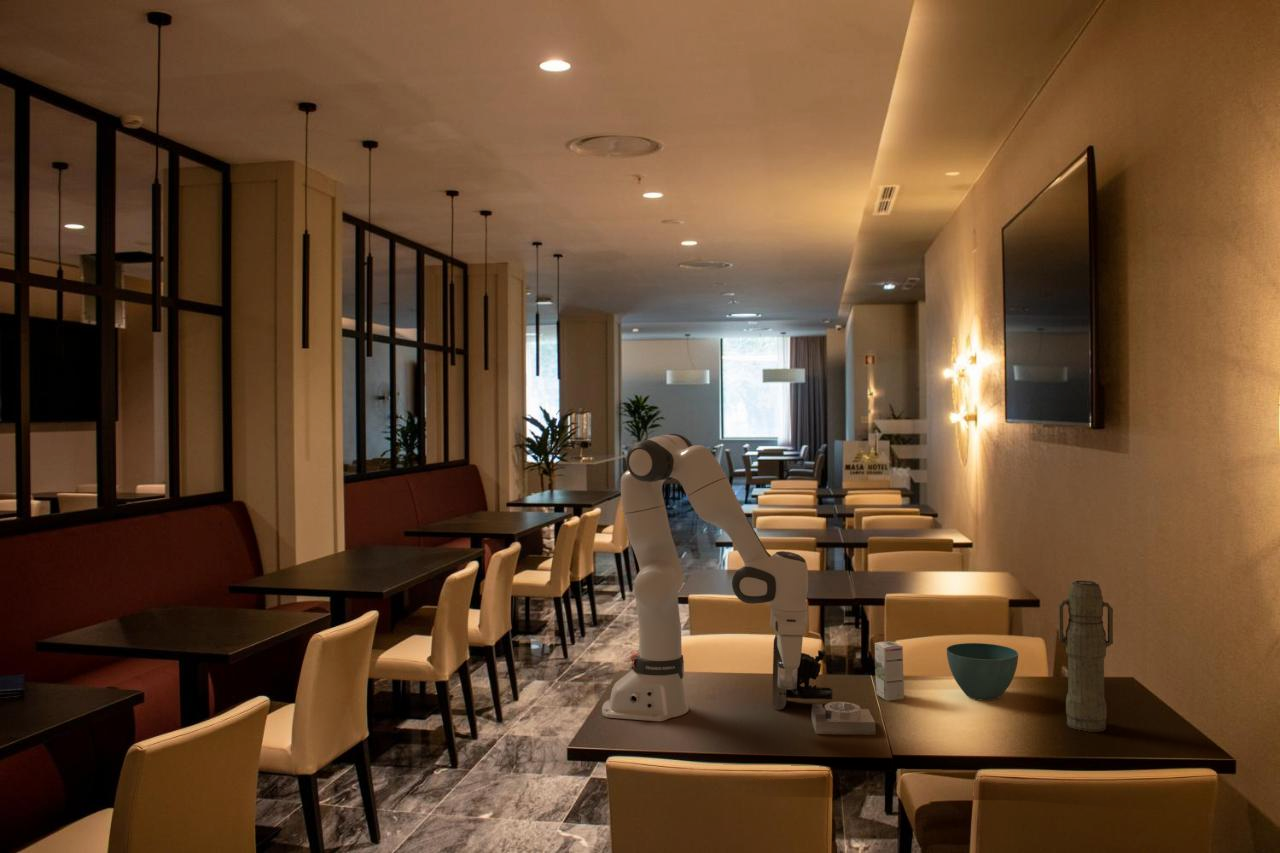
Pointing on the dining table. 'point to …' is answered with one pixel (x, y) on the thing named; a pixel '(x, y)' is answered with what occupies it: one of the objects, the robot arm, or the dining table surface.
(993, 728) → the dining table surface
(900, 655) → the syrup box
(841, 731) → the mount
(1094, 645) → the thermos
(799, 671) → the vintage camera
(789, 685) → the knob
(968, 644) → the teal bowl
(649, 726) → the dining table surface
